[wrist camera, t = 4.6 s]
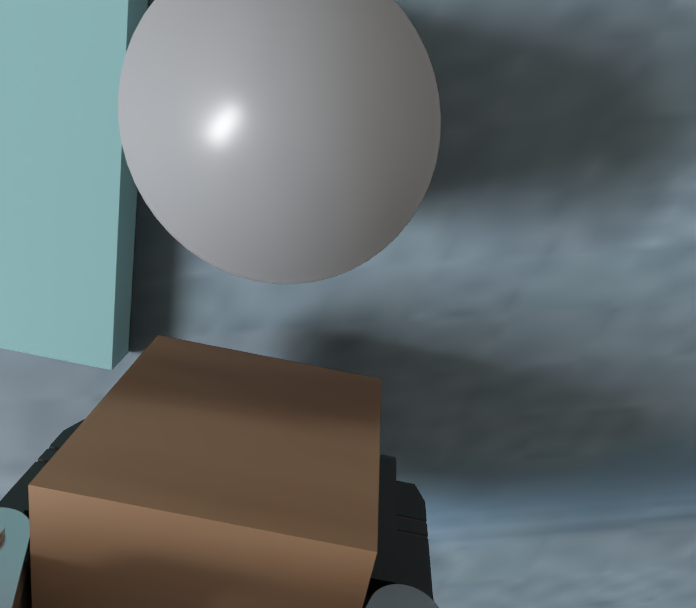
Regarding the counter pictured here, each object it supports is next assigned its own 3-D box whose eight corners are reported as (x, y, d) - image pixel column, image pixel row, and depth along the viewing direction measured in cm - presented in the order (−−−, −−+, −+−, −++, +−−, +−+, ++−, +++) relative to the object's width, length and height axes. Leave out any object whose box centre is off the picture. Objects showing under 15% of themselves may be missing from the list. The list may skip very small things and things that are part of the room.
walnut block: (157, 334, 13) (28, 484, 8) (381, 378, 13) (376, 552, 8) (145, 511, 15) (35, 714, 10) (341, 548, 15) (319, 767, 10)
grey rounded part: (236, -20, 12) (125, -90, 7) (442, 22, 12) (478, -17, 7) (213, 187, 14) (111, 252, 9) (396, 224, 14) (400, 310, 9)
